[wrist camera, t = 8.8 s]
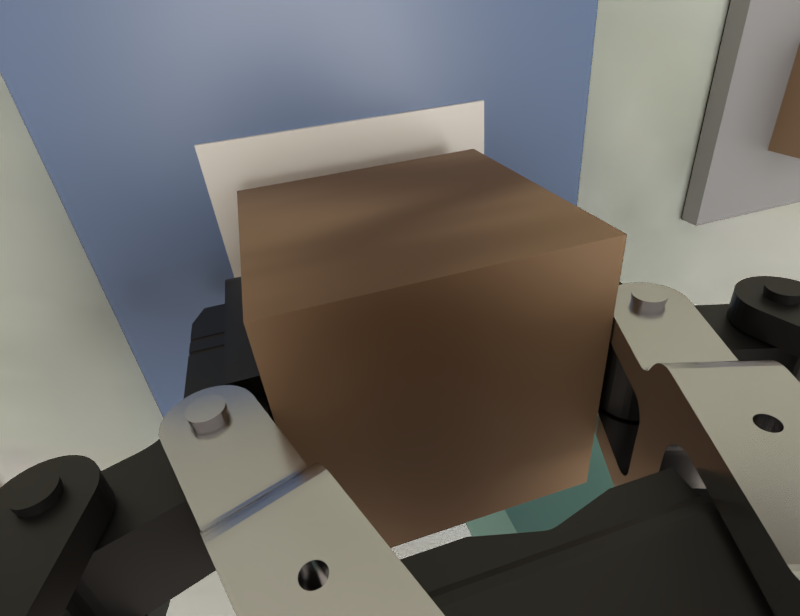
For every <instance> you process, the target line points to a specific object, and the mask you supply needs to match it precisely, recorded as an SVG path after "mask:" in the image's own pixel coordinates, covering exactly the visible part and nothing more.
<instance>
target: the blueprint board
mask: <svg viewBox="0 0 800 616" xmlns="http://www.w3.org/2000/svg"><path fill="white" fill-rule="evenodd" d="M597 7H598V0H0V73H1V75H2V77H3V79H4V81H5V83H6V85H7V87H8V90H9V92H10V94H11V96H12V98H13V100H14V102H15V104H16V107H17V109H18V111H19V113H20V115H21V117H22V119H23V121H24V123H25V126H26V128H27V130H28V132H29V134H30V136H31V138H32V140H33V143H34V145H35V147H36V149H37V151H38V153H39V155H40V157H41V159H42V162H43V164H44V166H45V168H46V170H47V172H48V174H49V176H50V179H51V181H52V183H53V185H54V187H55V189H56V191H57V193H58V195H59V198H60V200H61V202H62V204H63V206H64V208H65V210H66V212H67V214H68V217H69V219H70V221H71V223H72V225H73V227H74V229H75V231H76V234H77V236H78V238H79V240H80V242H81V244H82V246H83V248H84V250H85V253H86V255H87V257H88V259H89V261H90V263H91V265H92V267H93V270H94V272H95V274H96V276H97V278H98V280H99V282H100V284H101V286H102V289H103V291H104V293H105V295H106V297H107V299H108V301H109V303H110V306H111V308H112V310H113V312H114V314H115V316H116V318H117V320H118V322H119V325H120V327H121V329H122V331H123V333H124V335H125V337H126V339H127V342H128V344H129V346H130V348H131V350H132V352H133V354H134V356H135V358H136V361H137V363H138V365H139V367H140V369H141V371H142V373H143V375H144V378H145V380H146V382H147V384H148V386H149V388H150V390H151V392H152V394H153V397H154V399H155V401H156V403H157V405H158V407H159V409H160V411H161V414H162V416H163V418H164V417H165V416H166V414H167V413H168V412H169V411H170V410H171V409H172V408H173V407H174V406H175V405H176V404H177V403H179V402H180V401H181V400H183V399H184V391H185V382H186V373H187V365H188V356H190V355H189V347H190V343H191V340H190V338H191V330H192V323H193V322H194V321H195V320H196V318H197V317H198V316H199V314H200V313H201V312H202V311H203V309H204V308H207V307H212V306H216V305H221V304H225V280H226V279H231V278H236V277H241V264H240V244H239V224H238V204H237V191H240V190H246V189H251V188H257V187H262V186H268V185H274V184H279V183H285V182H290V181H296V180H302V179H307V178H313V177H318V176H324V175H329V174H335V173H341V172H346V171H352V170H357V169H363V168H369V167H374V166H380V165H385V164H391V163H397V162H402V161H408V160H413V159H419V158H425V157H430V156H436V155H441V154H447V153H452V152H458V151H464V150H469V149H475V150H477V151H479V152H480V153H482V154H484V155H486V156H488V157H489V158H491V159H493V160H495V161H496V162H498V163H500V164H502V165H504V166H505V167H507V168H509V169H511V170H513V171H514V172H516V173H518V174H520V175H522V176H523V177H525V178H527V179H529V180H530V181H532V182H534V183H536V184H538V185H539V186H541V187H543V188H545V189H547V190H548V191H550V192H552V193H554V194H555V195H557V196H559V197H561V198H563V199H564V200H566V201H568V202H570V203H572V204H573V205H575V206H577V200H578V190H579V181H580V171H581V161H582V152H583V142H584V132H585V123H586V113H587V103H588V94H589V84H590V74H591V65H592V55H593V45H594V36H595V26H596V17H597Z"/></svg>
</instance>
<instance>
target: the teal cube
mask: <svg viewBox="0 0 800 616" xmlns="http://www.w3.org/2000/svg"><path fill="white" fill-rule="evenodd" d="M613 487H614V484H613V482H612V479H611V476H610V473H609V470H608V468H607V465H606V462H605V459H604V456H603V453H602V451H601V448H600V445H599V442H598V439H597V437H596V434H594V440H593V446H592V452H591V458H590V464H589V471H588V477H587V482H586V483H583V484H580V485H577V486H574V487H571V488H568V489H565V490H562V491H559V492H556V493H553V494H550V495H547V496H544V497H541V498H538V499H535V500H532V501H529V502H526V503H523V504H520V505H517V506H514V507H511V508H508V509H505V510H502V511H499V512H496V513H493V514H490V515H487V516H484V517H481V518H478V519H475V520H472V521H469V522H466V525H467V527H468V529H469V531H470V533H471V535H472V537H474V536H486V535H499V534H511V533H524V532H536V531H546V530H550V529H553V528H555V527H556V526H558V525H559V524H561V523H562V522H564V521H565V520H566V519H568V518H569V517H571V516H572V515H573V514H575V513H576V512H577V511H579V510H580V509H582V508H583V507H584V506H586V505H587V504H589V503H590V502H591V501H593V500H594V499H595V498H597V497H598V496H600V495H601V494H602V493H604V492H605V491H607V490H608V489H610V488H613Z"/></svg>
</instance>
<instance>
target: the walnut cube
mask: <svg viewBox="0 0 800 616" xmlns="http://www.w3.org/2000/svg"><path fill="white" fill-rule="evenodd" d="M237 204H238V224H239V244H240V264H241V284H242V304H243V323H244V326H245V329H246V332H247V336H248V339H249V342H250V345H251V348H252V351H253V355H254V358H255V361H256V364H257V367H258V371H259V374H260V377H261V380H262V383H263V386H264V390H265V393H266V396H267V399H268V402H269V406H270V409H271V412H272V415H273V418H274V421H275V424H276V425H277V427H278V428H279V429H280V431H281V432H282V433H283V435H284V436H285V437H286V438H287V440H288V441H289V442H290V444H291V445H292V446H293V448H294V449H295V450H296V452H297V453H298V454H299V455H300V457H301V458H302V459H303V461H304V462H305V463H306V464H307V465H308V467H309V466H310V465H312V464H314V463H315V462H318V463H320V464H321V465H323V466H324V467H325V468H326V469H327V470H328V471H329V473H330V474H331V475H332V476H333V477H334V479H335V480H336V481H337V482H338V484H339V485H340V486H341V487H342V489H343V490H344V491H345V492H346V494H347V495H348V496H349V497H350V498H351V500H352V501H353V502H354V503H355V505H356V506H357V507H358V508H359V510H360V511H361V512H362V513H363V515H364V516H365V517H366V518H367V520H368V521H369V522H370V523H371V525H372V526H373V527H374V528H375V530H376V531H377V532H378V533H379V534H380V536H381V537H382V538H383V539H384V541H385V542H386V543H387V544H388V546H389V547H390V548H391V547H394V546H397V545H400V544H403V543H406V542H409V541H412V540H415V539H418V538H421V537H424V536H427V535H430V534H433V533H436V532H439V531H442V530H445V529H448V528H451V527H454V526H457V525H460V524H463V523H466V522H469V521H472V520H475V519H478V518H481V517H484V516H487V515H490V514H493V513H496V512H499V511H502V510H505V509H508V508H511V507H514V506H517V505H520V504H523V503H526V502H529V501H532V500H535V499H538V498H541V497H544V496H547V495H550V494H553V493H556V492H559V491H562V490H565V489H568V488H571V487H574V486H577V485H580V484H583V483H586V482H587V477H588V471H589V464H590V458H591V452H592V446H593V440H594V434H595V428H596V421H597V415H598V409H599V403H600V397H601V391H602V385H603V379H604V372H605V366H606V360H607V354H608V348H609V342H610V336H611V329H612V323H613V317H614V311H615V305H616V299H617V293H618V286H619V280H620V274H621V268H622V262H623V256H624V250H625V244H626V237H627V234H625V233H623V232H622V231H620V230H618V229H616V228H615V227H613V226H611V225H609V224H607V223H606V222H604V221H602V220H600V219H598V218H597V217H595V216H593V215H591V214H589V213H588V212H586V211H584V210H582V209H581V208H579V207H577V206H575V205H573V204H572V203H570V202H568V201H566V200H564V199H563V198H561V197H559V196H557V195H555V194H554V193H552V192H550V191H548V190H547V189H545V188H543V187H541V186H539V185H538V184H536V183H534V182H532V181H530V180H529V179H527V178H525V177H523V176H522V175H520V174H518V173H516V172H514V171H513V170H511V169H509V168H507V167H505V166H504V165H502V164H500V163H498V162H496V161H495V160H493V159H491V158H489V157H488V156H486V155H484V154H482V153H480V152H479V151H477V150H475V149H469V150H464V151H458V152H452V153H447V154H441V155H436V156H430V157H425V158H419V159H413V160H408V161H402V162H397V163H391V164H385V165H380V166H374V167H369V168H363V169H357V170H352V171H346V172H341V173H335V174H329V175H324V176H318V177H313V178H307V179H302V180H296V181H290V182H285V183H279V184H274V185H268V186H262V187H257V188H251V189H246V190H240V191H237Z"/></svg>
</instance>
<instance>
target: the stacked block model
mask: <svg viewBox="0 0 800 616" xmlns="http://www.w3.org/2000/svg"><path fill="white" fill-rule="evenodd" d="M797 202H800V0H731V2H730V6H729V10H728V15H727V19H726V24H725V28H724V33H723V37H722V42H721V46H720V51H719V55H718V59H717V64H716V68H715V73H714V77H713V82H712V86H711V91H710V95H709V100H708V104H707V108H706V113H705V117H704V122H703V126H702V131H701V135H700V140H699V144H698V149H697V153H696V157H695V162H694V166H693V171H692V175H691V180H690V184H689V189H688V193H687V198H686V202H685V206H684V211H683V215H682V219H683V220H685V221H687V222H689V223H691V224H694V225H696V226H697V225H701V224H705V223H710V222H714V221H718V220H723V219H727V218H732V217H736V216H740V215H745V214H749V213H753V212H758V211H762V210H766V209H771V208H775V207H780V206H784V205H788V204H793V203H797Z"/></svg>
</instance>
